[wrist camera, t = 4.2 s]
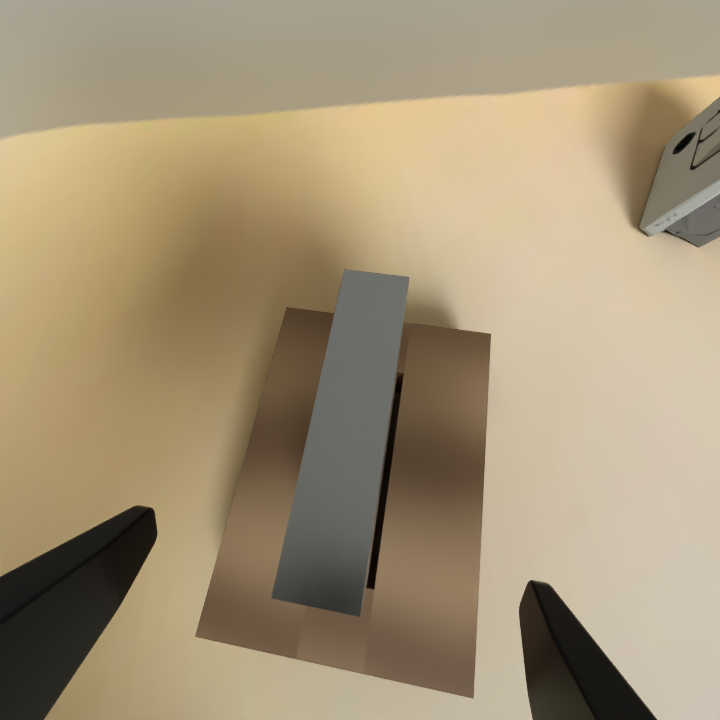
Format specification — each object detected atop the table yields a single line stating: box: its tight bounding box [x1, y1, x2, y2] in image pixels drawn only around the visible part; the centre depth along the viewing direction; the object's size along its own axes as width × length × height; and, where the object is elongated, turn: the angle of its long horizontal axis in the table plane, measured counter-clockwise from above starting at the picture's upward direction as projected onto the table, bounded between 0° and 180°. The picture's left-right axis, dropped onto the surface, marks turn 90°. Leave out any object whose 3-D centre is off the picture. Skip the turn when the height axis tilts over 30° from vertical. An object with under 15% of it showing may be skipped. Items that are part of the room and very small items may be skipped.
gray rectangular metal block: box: [271, 269, 409, 617], centre depth 14 cm, size 8×2×11 cm, turn 170°
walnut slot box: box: [195, 307, 491, 698], centre depth 19 cm, size 14×10×4 cm
